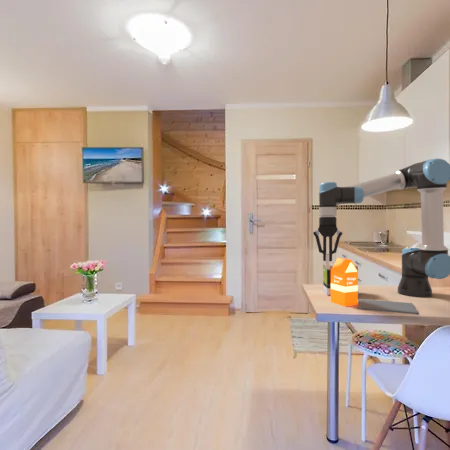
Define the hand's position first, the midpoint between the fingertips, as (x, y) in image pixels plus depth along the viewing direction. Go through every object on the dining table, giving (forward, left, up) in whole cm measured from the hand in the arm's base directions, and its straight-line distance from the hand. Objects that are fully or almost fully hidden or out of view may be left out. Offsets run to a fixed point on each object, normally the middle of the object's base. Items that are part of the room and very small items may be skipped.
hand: (327, 268), depth 153 cm
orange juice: (-7, 0, -15) cm, 17 cm away
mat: (-24, 0, -15) cm, 29 cm away
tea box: (-5, -19, -16) cm, 25 cm away
